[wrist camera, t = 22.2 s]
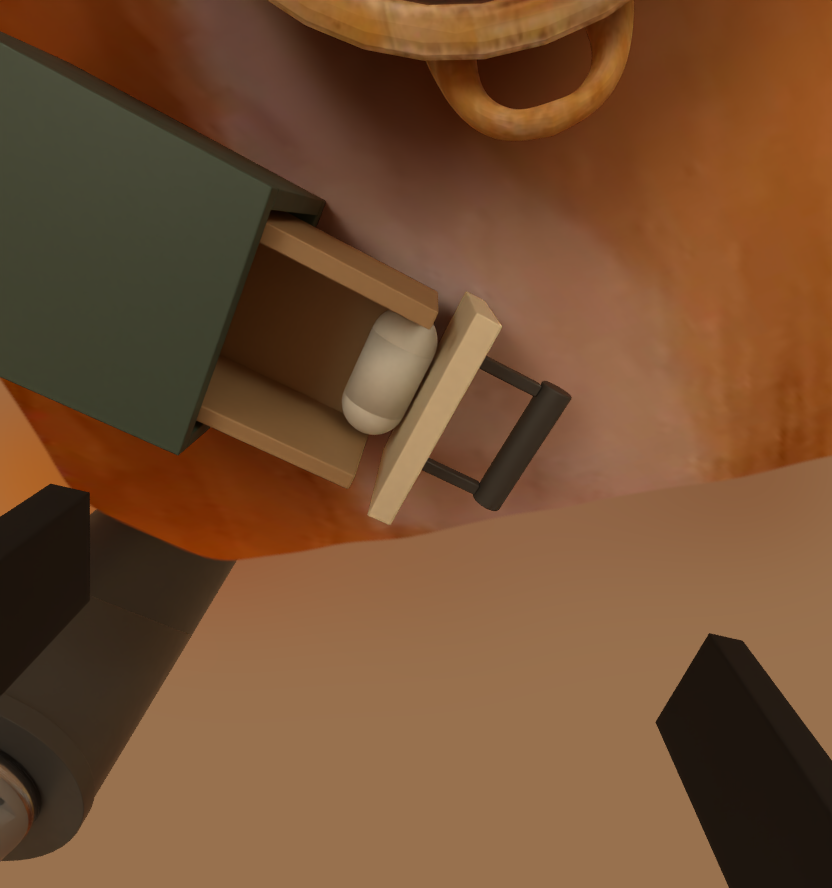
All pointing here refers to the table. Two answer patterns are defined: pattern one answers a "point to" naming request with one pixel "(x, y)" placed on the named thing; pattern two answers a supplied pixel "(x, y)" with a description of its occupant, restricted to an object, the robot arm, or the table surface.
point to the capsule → (388, 373)
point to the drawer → (333, 359)
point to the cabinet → (120, 247)
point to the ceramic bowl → (484, 48)
